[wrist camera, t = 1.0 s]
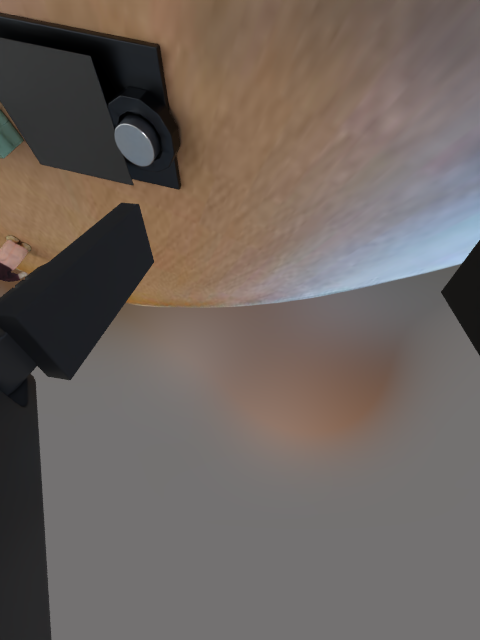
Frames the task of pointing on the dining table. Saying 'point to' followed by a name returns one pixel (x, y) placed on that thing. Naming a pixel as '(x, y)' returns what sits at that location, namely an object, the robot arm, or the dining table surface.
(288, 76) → the dining table surface
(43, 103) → the screen
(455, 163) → the dining table surface
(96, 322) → the robot arm
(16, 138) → the pen stand
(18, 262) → the grandmother figurine
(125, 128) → the button
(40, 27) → the tablet
